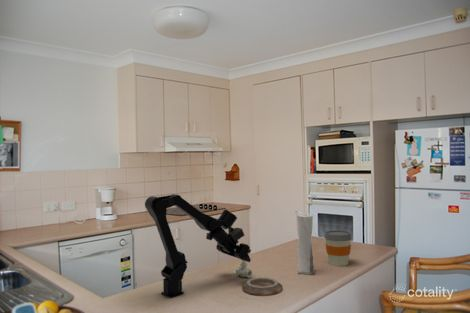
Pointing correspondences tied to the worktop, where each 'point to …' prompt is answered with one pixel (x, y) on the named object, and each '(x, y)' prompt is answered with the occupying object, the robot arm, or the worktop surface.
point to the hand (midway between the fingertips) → (243, 259)
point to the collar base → (262, 286)
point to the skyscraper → (305, 244)
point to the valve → (244, 269)
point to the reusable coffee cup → (338, 247)
